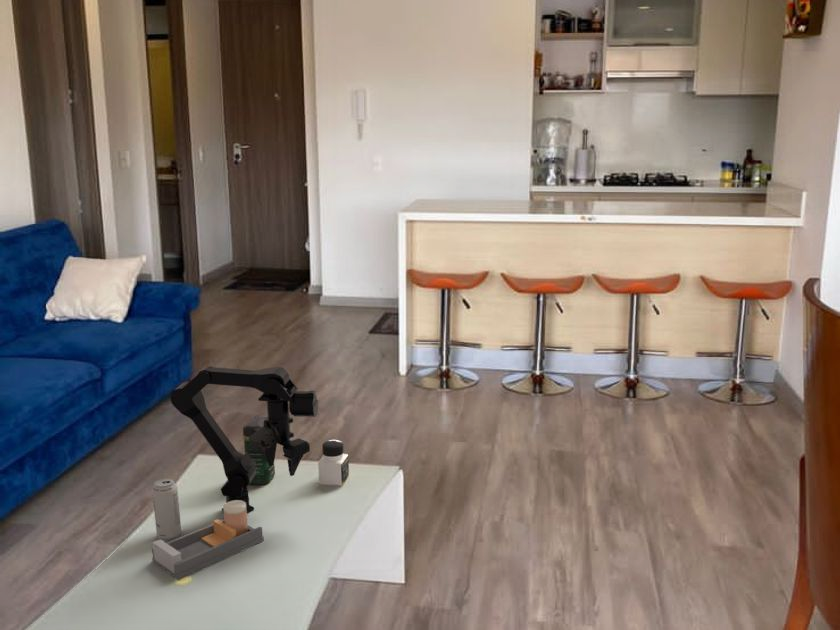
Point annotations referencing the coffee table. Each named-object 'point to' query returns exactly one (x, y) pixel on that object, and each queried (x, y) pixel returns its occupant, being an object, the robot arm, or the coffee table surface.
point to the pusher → (220, 534)
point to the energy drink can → (166, 509)
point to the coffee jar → (257, 453)
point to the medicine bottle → (333, 464)
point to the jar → (236, 516)
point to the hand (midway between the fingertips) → (281, 470)
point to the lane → (199, 550)
